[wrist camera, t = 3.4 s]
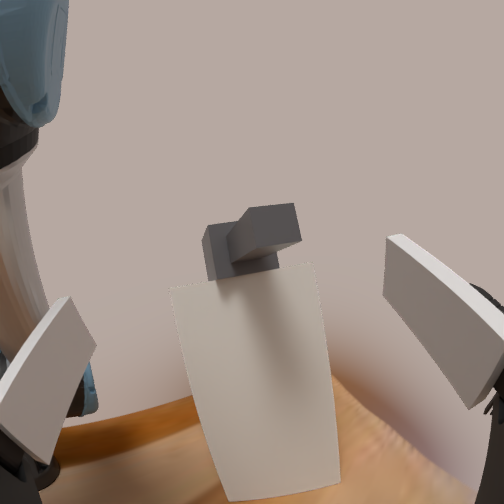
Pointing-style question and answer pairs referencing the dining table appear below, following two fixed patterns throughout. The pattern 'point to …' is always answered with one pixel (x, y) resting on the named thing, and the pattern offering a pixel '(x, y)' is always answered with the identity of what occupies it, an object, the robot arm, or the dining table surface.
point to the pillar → (261, 380)
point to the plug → (250, 241)
